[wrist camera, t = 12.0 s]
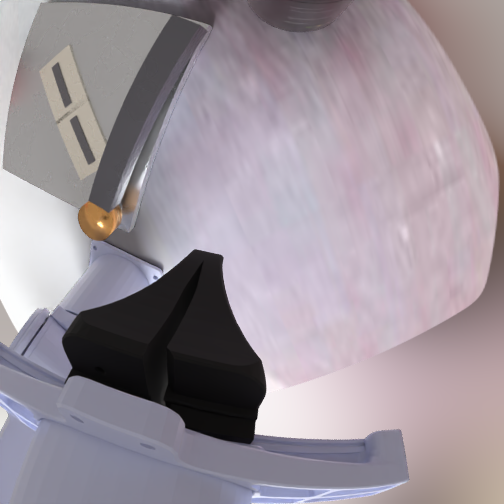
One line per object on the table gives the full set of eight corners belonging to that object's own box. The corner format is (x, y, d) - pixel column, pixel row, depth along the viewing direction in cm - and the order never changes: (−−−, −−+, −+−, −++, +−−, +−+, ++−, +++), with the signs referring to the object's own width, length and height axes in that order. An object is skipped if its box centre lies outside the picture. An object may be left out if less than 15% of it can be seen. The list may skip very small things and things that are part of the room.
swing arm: (116, 236, 21) (105, 247, 20) (86, 218, 21) (75, 228, 19) (216, 34, 13) (209, 28, 12) (174, 17, 12) (164, 11, 11)
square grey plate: (134, 226, 24) (122, 240, 22) (9, 164, 21) (-6, 172, 19) (212, 28, 15) (204, 20, 13) (48, 4, 12) (32, 1, 10)
